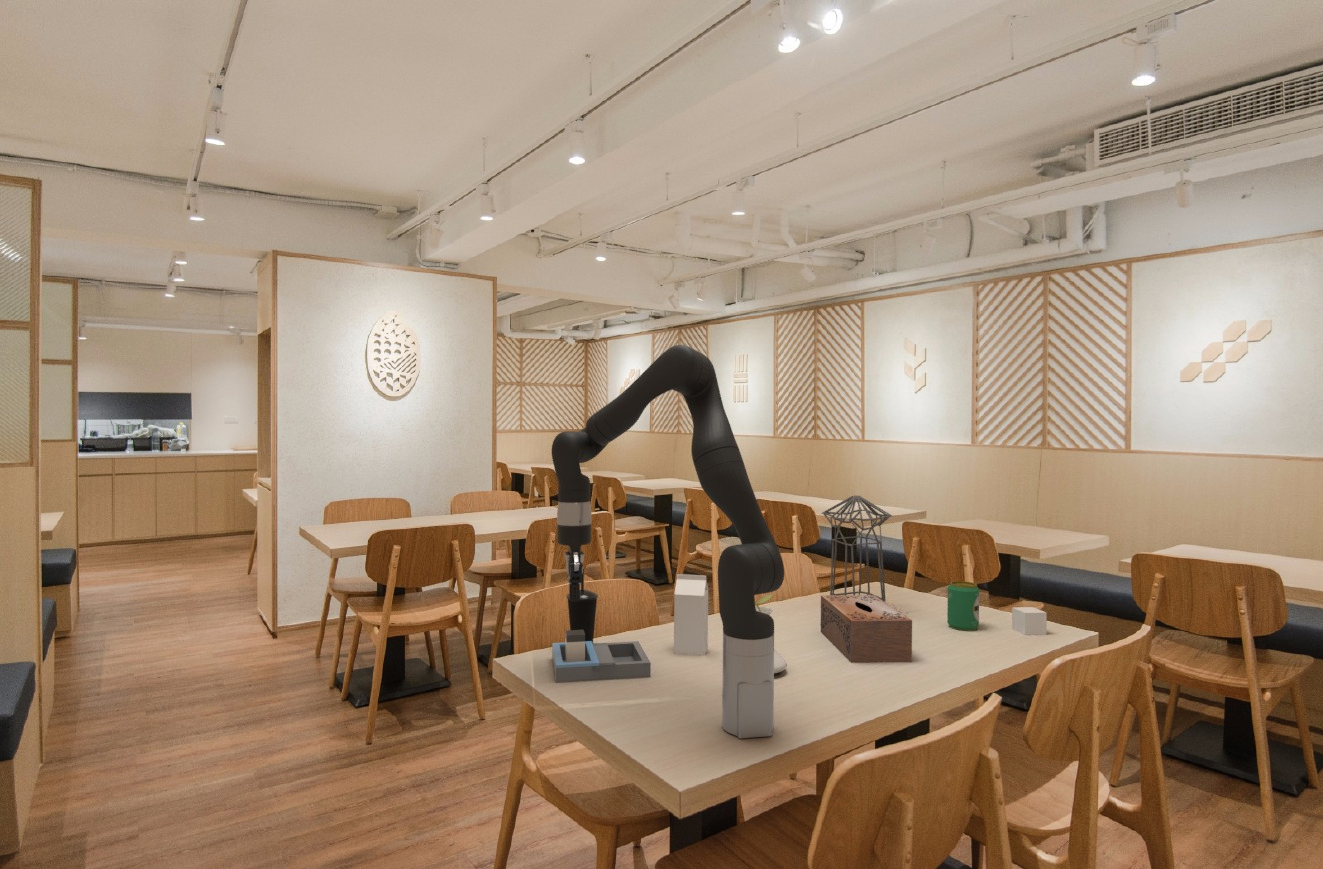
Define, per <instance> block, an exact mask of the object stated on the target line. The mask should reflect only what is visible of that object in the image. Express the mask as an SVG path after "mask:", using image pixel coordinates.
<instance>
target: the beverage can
mask: <svg viewBox="0 0 1323 869" xmlns="http://www.w3.org/2000/svg"><path fill="white" fill-rule="evenodd" d="M946 618H947V619H946V621H947V622H946V623H947V624H948V627H949V628H951V629H953V630H957V631H963V632H973V631H977V630H978V628H979V626H980V588H979V587H978V584H977V583H975V582H970V581H966V580H965V581H963V580H962V581H961V580H955V581H950V583H949V584H948V586H947V617H946Z"/></svg>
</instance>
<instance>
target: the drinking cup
mask: <svg viewBox="0 0 1323 869" xmlns="http://www.w3.org/2000/svg"><path fill="white" fill-rule="evenodd" d="M581 579H582V581H581V583H580V600H579V601H578V602H571V601H570V600H569V593H567V594H566V599H567V606H568V609H567V610H568V618H569V630H584V633H585V641H592V644H594V636H595V635H594V634H595V624H596V615H597V614H596V613H597V612H596V611H597V603H598V598H599V594H598V593H596V592H594V591H592V590H589V589H585V568H583V573H582V578H581Z"/></svg>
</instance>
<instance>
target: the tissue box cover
mask: <svg viewBox="0 0 1323 869" xmlns="http://www.w3.org/2000/svg"><path fill="white" fill-rule="evenodd" d="M876 596H877V595H876ZM876 596H875V594H874V595H867V594H860V595H859V594H855V595H853V594H847V595H830V594H829V595H828V594H827V595H823V594H821V595H820V633H821V634H822V635H823V636H824V637H825V638H826V639H827V640H828V641H829V642H830V643H831V644H832V645H833V646H834V647H835V648H836V649H837V650H838V651H839V652H840V653H841V654H842V655H843V656H844V657H845V659H847V660H848V662H849V663H851V664H853V663H855V664H856V663H857V664H859V663H912V662H913V657H912V656H913V620H912V619H911V618H909V617H908V616H907V615H905V614H903V613H902V612H900V611H899V610H897V609H896V608H894V607H893V606H891V605H890V604H888V603H886V601H885V602H884V601H882V600H881V599H879V598H878V597H879V596H878V597H876Z"/></svg>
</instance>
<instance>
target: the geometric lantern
mask: <svg viewBox="0 0 1323 869" xmlns="http://www.w3.org/2000/svg"><path fill="white" fill-rule="evenodd" d="M856 503H857V508H858V509H856V510H855V506H856ZM843 504H844V505H843ZM840 506H841V507H840ZM838 507H840V508H839V509H838V510H837V511H833V510H834V509H836V508H838ZM861 507H862V508H863V509H862V508H861ZM846 510H847V511H846ZM863 511H864V512H865V513H866V514H867V516H868V518H863V514H862V512H863ZM854 513H856V514H855V515H854V516H853V514H854ZM821 514H822V515H823V516H824V517H825V518H826V519H827V521H828V522H829V524H830V526H831V527H832V528H834V538H832V539H831V541H832V542H831V560H830V563H831V567H830V587H829V588H830V591H829V595H857V594H858V595H861V594H862V595H875V594H874V593H871V591H870V590H871V588H870V587H871V586H870V566H869V563H870V562H869V547H868V545H876V549H877V560H878V561H877V562H878V573H879V584H880V594H881V595H880V596H881V597H880V596H878V595H875V596H876V597H878V598H879V599H881V600H882V601H884V602H885V603H886V601H887V600H886V586H885V571H884V570H885V569H884V556H883V544H882V543H883V540H882V528H881V526H882V525H883V524H884V523H885V522H886V521H887V520H888V519H889V518H890V517H892V516H893V515H892V514H890V513H888V512H887V511H886V510H883V509H882V508H881V507H880V506H877V505H875V504H874V503H872V502H871V501H869V500H867V499H866V498H864V497H862V496H861V495H851V496H849V497H847V498H846V499H845V500H842V501H841V502H839V503H837V504H835V505H833V506H832V507H830V508H828V509H826V510H824V511H823V512H821ZM843 515H844V517H843ZM848 515H849V518H848ZM872 515H873V516H875V518H873V516H872ZM828 516H829V517H830V518H829V517H828ZM858 516H859V517H858ZM833 520H834V523H833ZM878 520H879V521H878ZM837 521H838V522H839V523H838V524H837ZM856 521H861V525H859V523H857V522H856ZM868 521H870V525H871V526H870V527H864V522H868ZM843 523H845V524H852V526H853V527H854V528H855V530H857V532H858V535H856V536H847V537H846V536H844V535H843V533H842V531H841V526H842V524H843ZM877 526H878V527H879V537H880V540H879V539H878V537H877V535H876V532H875V527H877ZM857 527H858V528H857ZM836 529H837V530H836ZM859 529H860V530H861V531H860V530H859ZM867 530H868V531H867ZM864 531H867V533H866V535H865V536H864V535H862V533H863V532H864ZM871 531H872V534H873V536H874V538H875V539H874V538H871V537H869V536H870V533H871ZM839 535H840V536H841V537H838V536H839ZM846 539H854V540H853V542H852V544H851V543H847V541H846ZM858 539H859V543H856V541H857V540H858ZM863 539H865V542H863ZM839 540H843V541H839ZM868 540H872V541H875V542H868ZM838 543H839V544H842V545H845V546H844V547H845V548H844V549H845V553H844V554H845V556H844V561H845V562H844V592H839V593H835V586H836V585H835V584H836V582H835V580H836V566H837V565H836V564H837V554H838V553H837V552H838ZM854 546H859V577H858V578H859V579H858V580H859V583H858V584H859V585H858V590H857V591H856V585H855V584H856V582H855V581H856V580H855V562H854ZM863 546H865V556H866V578H867V592H866V591H862V563H863V562H862V560H863V559H862V554H863V553H862V552H863ZM848 547H850V551H851V555H850V556H851V571H852V572H851V575H852V576H851V577H852V591H850V592H847V588H848V587H847V582H848V581H847V580H848V579H847V578H848V577H847V576H848V573H847V572H848Z"/></svg>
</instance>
